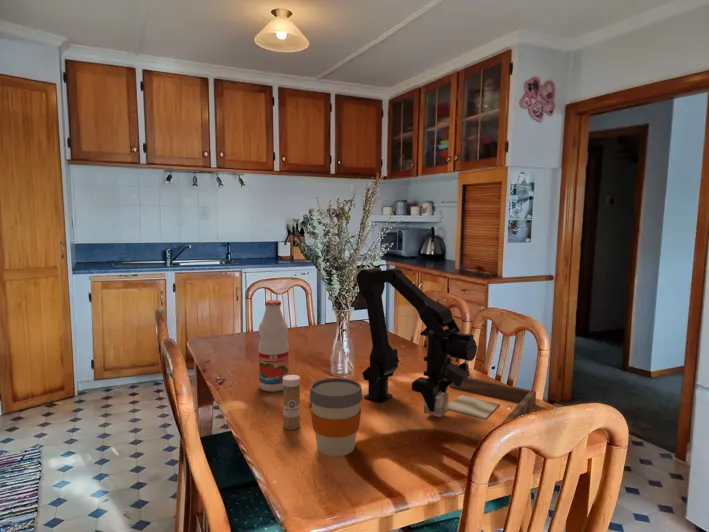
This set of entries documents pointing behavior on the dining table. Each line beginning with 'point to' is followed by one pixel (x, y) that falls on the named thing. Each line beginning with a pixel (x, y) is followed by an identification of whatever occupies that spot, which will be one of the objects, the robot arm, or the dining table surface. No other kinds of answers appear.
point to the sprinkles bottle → (291, 402)
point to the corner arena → (494, 390)
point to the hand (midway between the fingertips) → (436, 408)
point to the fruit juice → (273, 348)
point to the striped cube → (438, 405)
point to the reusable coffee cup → (335, 414)
